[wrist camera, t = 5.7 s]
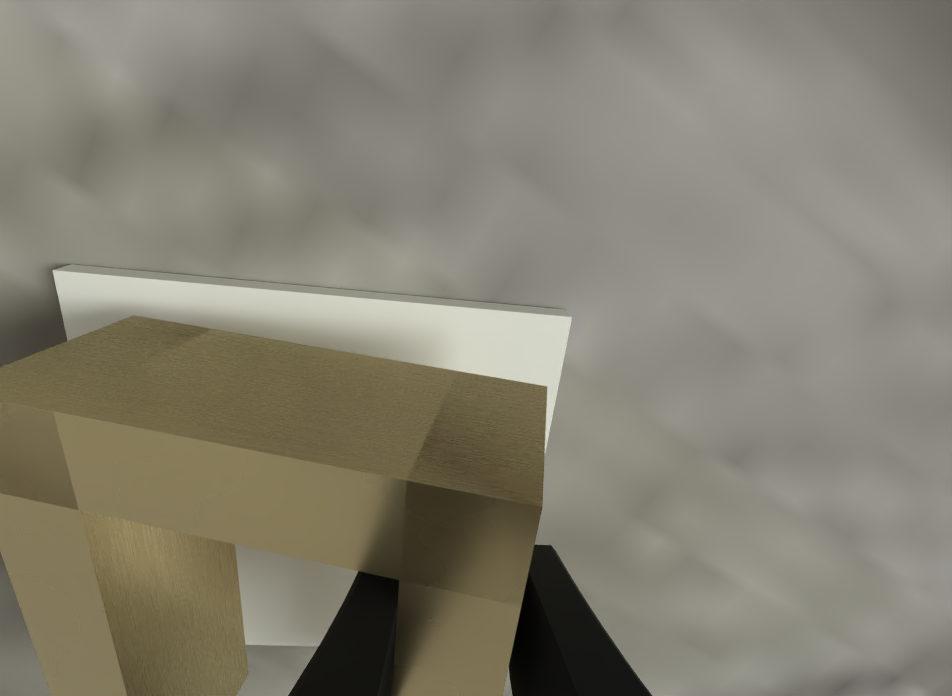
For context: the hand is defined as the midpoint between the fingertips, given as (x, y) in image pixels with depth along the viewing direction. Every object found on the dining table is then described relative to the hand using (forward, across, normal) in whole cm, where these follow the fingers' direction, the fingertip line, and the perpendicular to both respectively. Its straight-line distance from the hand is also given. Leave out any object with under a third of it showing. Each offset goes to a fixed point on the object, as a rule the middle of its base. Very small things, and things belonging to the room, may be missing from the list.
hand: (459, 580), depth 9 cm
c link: (+2, +3, +2) cm, 4 cm away
